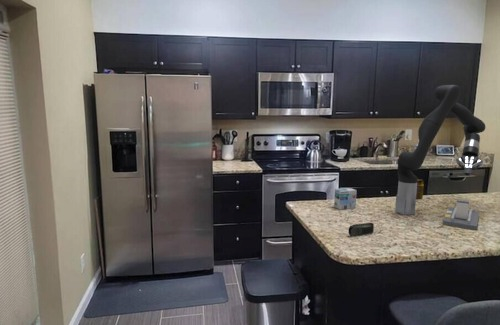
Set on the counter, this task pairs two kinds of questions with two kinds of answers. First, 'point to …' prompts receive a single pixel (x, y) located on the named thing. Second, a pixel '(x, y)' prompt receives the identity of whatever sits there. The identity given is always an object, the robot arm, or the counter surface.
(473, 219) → the switch board
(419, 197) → the condiment
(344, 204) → the light bulb box
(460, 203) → the slider tab
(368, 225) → the mobile phone
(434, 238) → the counter surface
